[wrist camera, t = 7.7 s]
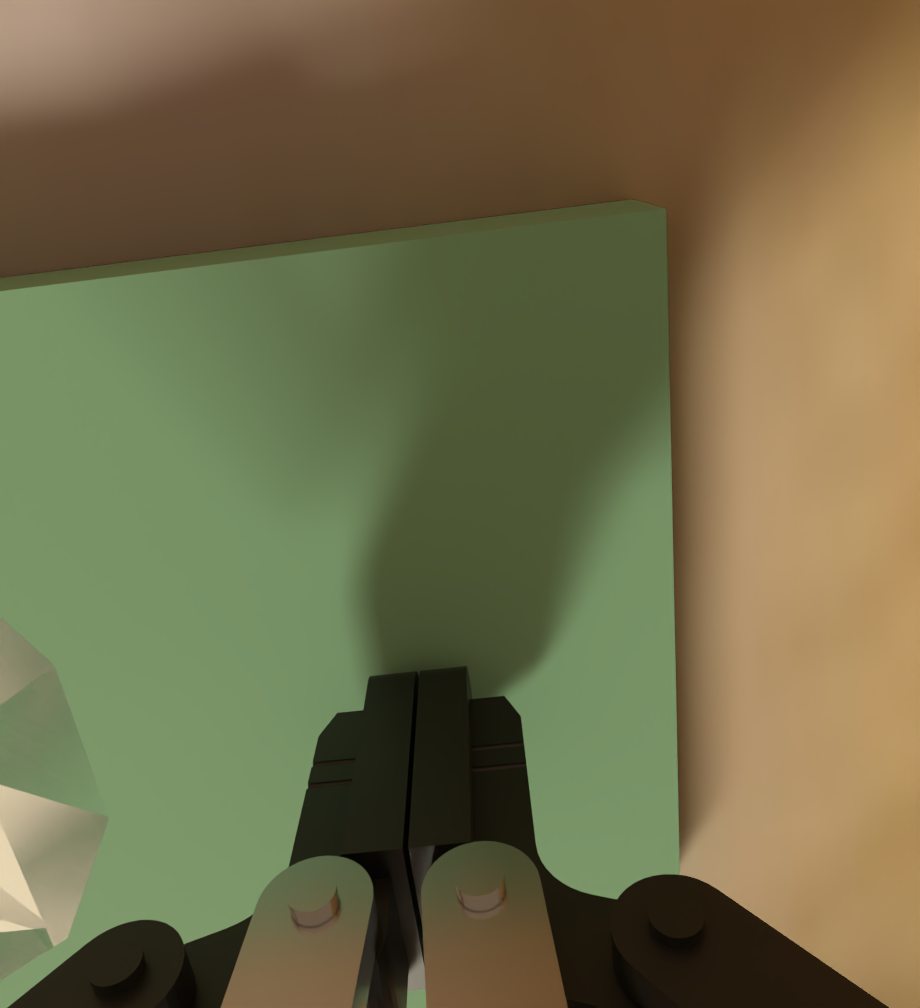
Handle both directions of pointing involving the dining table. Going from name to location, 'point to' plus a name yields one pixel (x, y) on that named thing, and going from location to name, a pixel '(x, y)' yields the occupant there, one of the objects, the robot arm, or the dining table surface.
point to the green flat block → (326, 550)
